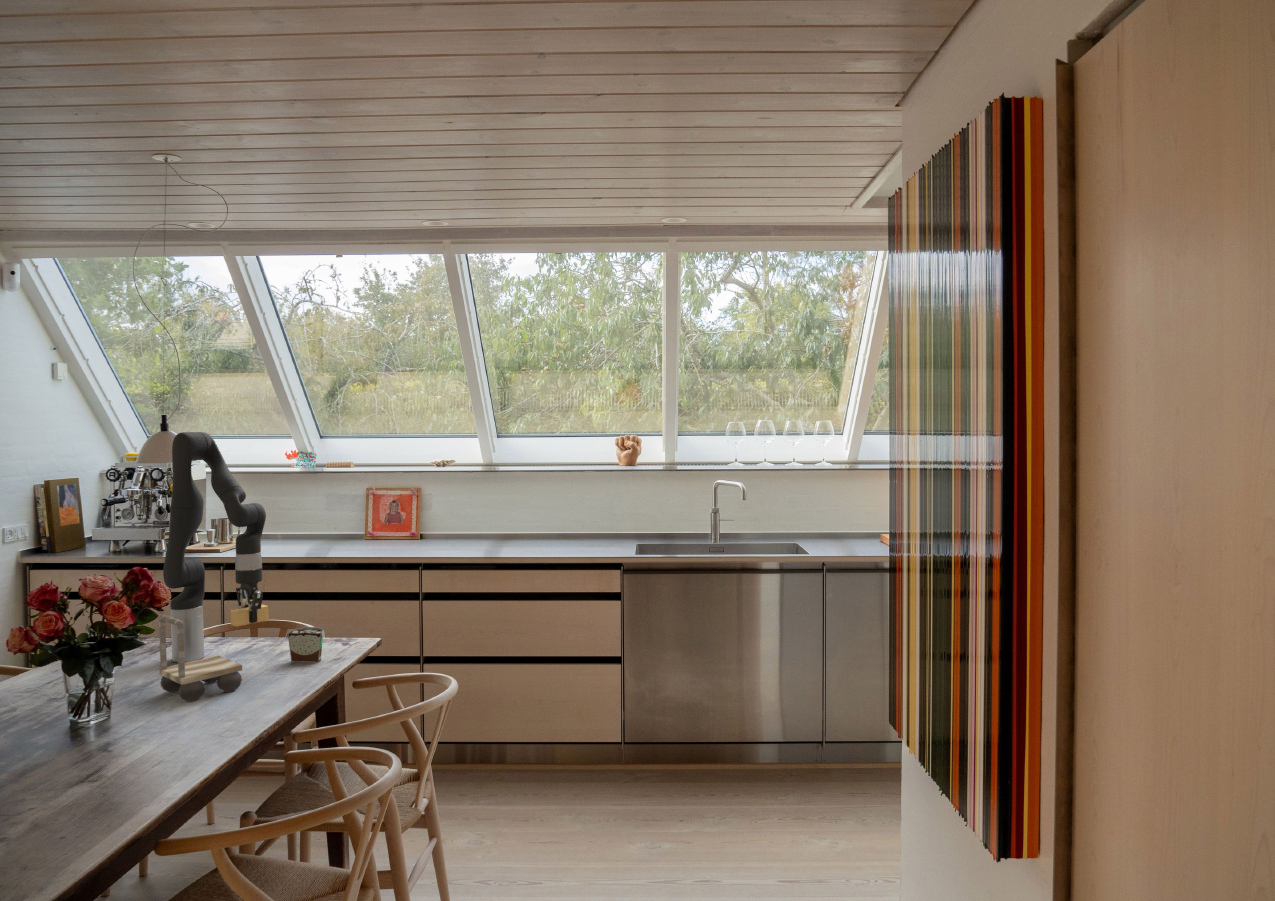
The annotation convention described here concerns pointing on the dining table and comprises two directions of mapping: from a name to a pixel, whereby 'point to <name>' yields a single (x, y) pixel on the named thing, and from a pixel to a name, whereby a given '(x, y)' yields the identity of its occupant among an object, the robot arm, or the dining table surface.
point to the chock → (242, 615)
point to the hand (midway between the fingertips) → (250, 621)
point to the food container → (305, 644)
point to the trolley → (194, 668)
